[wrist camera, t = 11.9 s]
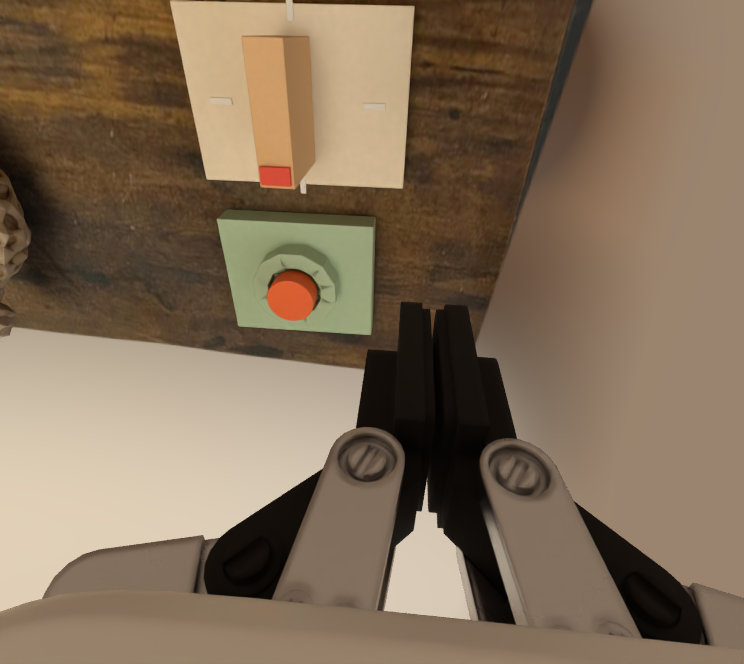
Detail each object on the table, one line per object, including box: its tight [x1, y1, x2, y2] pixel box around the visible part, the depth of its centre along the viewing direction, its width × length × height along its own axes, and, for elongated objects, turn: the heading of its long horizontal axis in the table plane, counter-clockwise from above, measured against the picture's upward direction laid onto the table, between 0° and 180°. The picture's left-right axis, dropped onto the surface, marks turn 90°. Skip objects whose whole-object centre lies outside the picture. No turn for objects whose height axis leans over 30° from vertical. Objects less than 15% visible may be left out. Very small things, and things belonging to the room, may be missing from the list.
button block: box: [217, 209, 376, 335], centre depth 34 cm, size 12×10×4 cm
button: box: [267, 270, 318, 321], centre depth 32 cm, size 4×4×2 cm
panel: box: [170, 0, 414, 193], centre depth 27 cm, size 14×11×3 cm
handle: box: [241, 35, 315, 189], centre depth 24 cm, size 7×2×6 cm, turn 178°
